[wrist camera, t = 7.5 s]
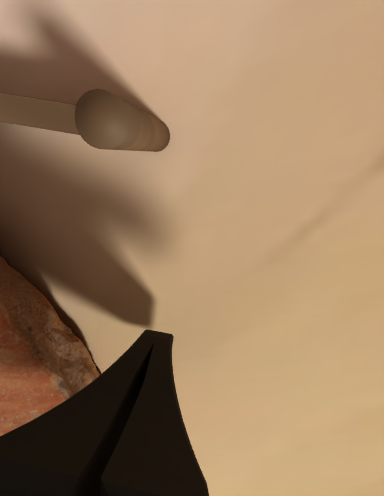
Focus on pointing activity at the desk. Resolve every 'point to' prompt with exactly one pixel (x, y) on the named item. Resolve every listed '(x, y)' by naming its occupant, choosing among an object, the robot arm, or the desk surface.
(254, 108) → the desk surface
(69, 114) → the wooden square frame
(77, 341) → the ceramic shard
